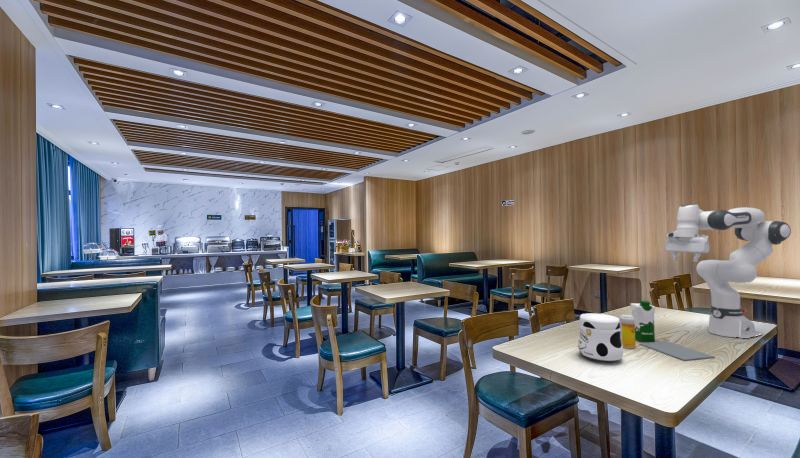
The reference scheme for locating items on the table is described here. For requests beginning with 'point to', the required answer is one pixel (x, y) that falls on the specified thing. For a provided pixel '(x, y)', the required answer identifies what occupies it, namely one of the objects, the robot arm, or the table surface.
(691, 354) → the mat
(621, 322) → the beer can
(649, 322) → the white carton
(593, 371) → the table surface
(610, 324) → the milk container
